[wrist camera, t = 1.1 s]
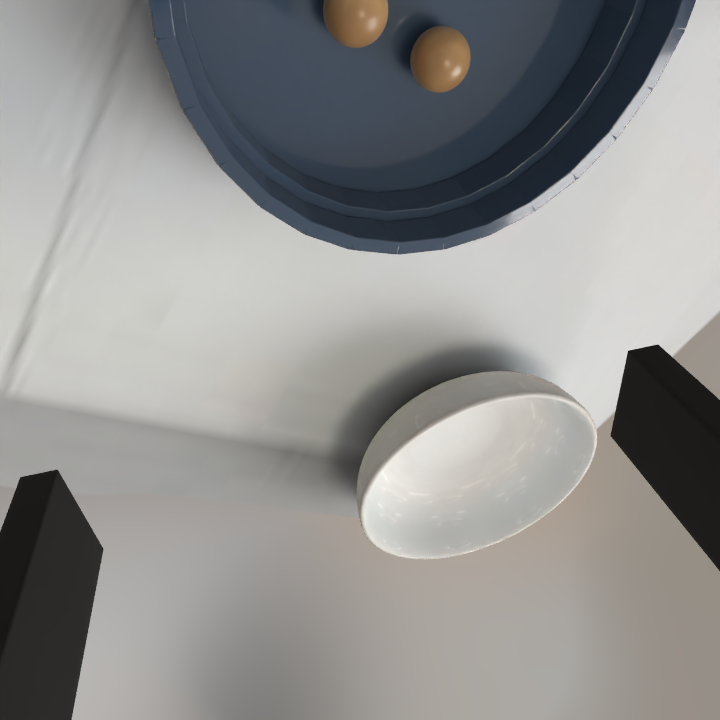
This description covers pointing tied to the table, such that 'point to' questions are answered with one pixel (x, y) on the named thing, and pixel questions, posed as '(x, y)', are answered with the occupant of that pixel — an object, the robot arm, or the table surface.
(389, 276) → the table surface
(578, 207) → the table surface
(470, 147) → the round tray
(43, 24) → the table surface
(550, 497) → the serving bowl
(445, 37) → the brown egg
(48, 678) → the robot arm
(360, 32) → the brown egg
